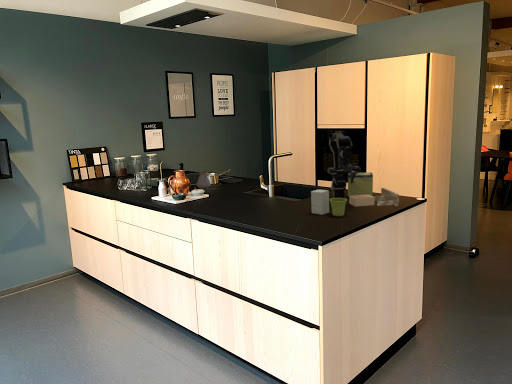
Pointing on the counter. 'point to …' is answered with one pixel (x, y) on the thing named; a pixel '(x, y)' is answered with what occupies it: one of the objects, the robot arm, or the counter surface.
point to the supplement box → (320, 201)
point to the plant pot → (338, 206)
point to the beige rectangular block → (361, 200)
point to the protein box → (360, 184)
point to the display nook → (387, 198)
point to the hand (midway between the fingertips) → (344, 184)
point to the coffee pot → (203, 180)
